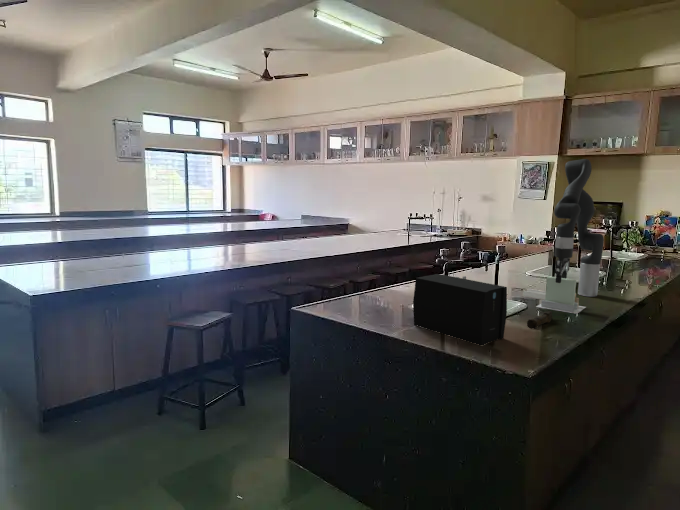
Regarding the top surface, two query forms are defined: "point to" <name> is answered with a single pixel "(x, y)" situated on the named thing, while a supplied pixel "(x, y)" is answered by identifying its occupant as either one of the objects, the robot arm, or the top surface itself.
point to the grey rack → (561, 306)
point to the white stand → (534, 294)
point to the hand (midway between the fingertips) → (560, 281)
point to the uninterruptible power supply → (460, 307)
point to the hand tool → (540, 320)
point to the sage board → (560, 290)
